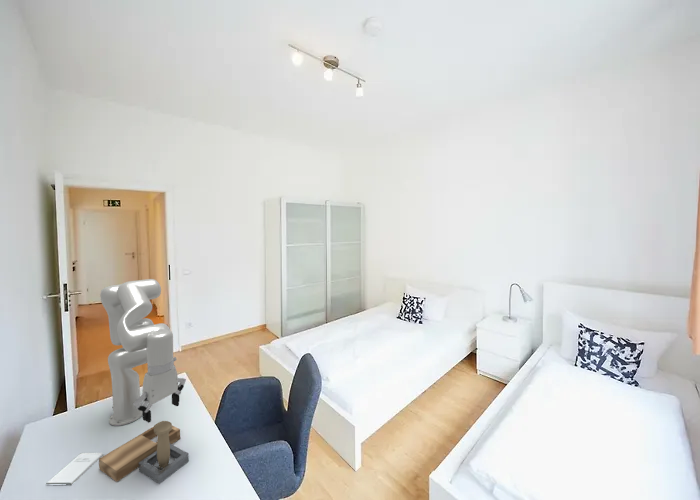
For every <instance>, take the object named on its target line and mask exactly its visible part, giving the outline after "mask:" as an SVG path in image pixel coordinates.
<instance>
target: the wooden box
mask: <svg viewBox="0 0 700 500" xmlns="http://www.w3.org/2000/svg"><path fill="white" fill-rule="evenodd" d="M156 437H158V435H156V434H155V433H154V426H152V427H150V428H148V429H147V430H145V431H144V432H142V433H140V434H139V435H137V436H135V437H133V438H132V439H130V440H128V441H127V442H125V443H123V444H122V445H120V446H118V447H117V448H115V449H113V450H112V451H109V452H108V453H106V454H104V455H103V456H102V457H101V458H99V460H98V467H99V469H98V470H100V472H102V473H104V474H105V475H106V476H108V477H109V478H111V479H112V480H114V481H115V482H116V483H118V482H119V481H121V480H122V479H123V478H125V477H127V476H128V475H130V474H131V473H132V472H134V471H136V469H139V464H138V463H139V462H141V461H142V460H144V459H145V458H147V457H148V456H150V455H151V454H153V453H154V452H155V451H157V441H156V442H155V441H153V439H155V438H156ZM180 439H181V429H180V428H178V427H177V426H174V425H172V430H171V431H170V432H169V443H170V444H172V445H174V444H175V443H176V442H178V441H179V440H180Z"/></svg>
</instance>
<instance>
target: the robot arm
mask: <svg viewBox="0 0 700 500" xmlns="http://www.w3.org/2000/svg"><path fill="white" fill-rule="evenodd" d="M161 294H162V286H161V284H160V282H158V280H157V279H154V278H146V279H140V280H138V279H137V280H130V281H129V280H128V281H125V282H122V283H121V284H119V283H118V284H114V285H109V286H106V287H105V286H104V288H102V289H101V291H100V294H99V295H100V296H99V297H100V302H101V304H102V306H103V308H104V310H105V311H106V313H107V316H108V326H109V338H110V341H111V344H112V345H113V346H122V347H120V348H118V349H116V350H115V349H114V350H113V351H112V352H110V353H109V355H108V356H107V364H108V368H109V372H110V377H111V391H112V392H111V393H112V411H113V412H112V414H111V416H110V417H109V419H108V424H109V425H111V426H118V427H121V426H124V425H129V424H131V423H133V422H135V421H137V420H138V419H140V418H141V417H142V420H143V421H145V422H146V423H148V424H149V423H151V422H152V411H151V408H152V406H153V405H154V404H156V403H158V402H159V401H161V400H163V399H165V398H168V397H169V396H171V405H173V406H175V407H179V406H180V395H181V394H182V390H183V389H184V386H185V384H186V380H187V379H186V378H184V377H182V378H181V377H178V371H177V367H176V365H175V362H176V361H177V357H176V356H174V333H173V331H171V329H170V326H168V325H167V324H166V323H164V322H163V323H162V322H161V323H156V324H155V323H154V322H153V320H152V319H150V318H146V317H147V316H148V315H149V314H150V313H151V312H152V310H153V304H152V302H151V300H154V299H157V298H159V297H160V296H161ZM145 364H147V372H146V373H144V377H143V382H142V390H141V387H140V375H139V373H138V372H137V371H135V370H134V368H136V367H138V366H143V365H145ZM141 391H142V392H141Z"/></svg>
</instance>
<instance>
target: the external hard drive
mask: <svg viewBox="0 0 700 500" xmlns="http://www.w3.org/2000/svg"><path fill="white" fill-rule="evenodd" d="M103 456H104V454H103V452H82V453H79V454H78V455H77V456H76V457H75V458H73V459H72V460H71V461H70V462H69V463H68V464H67V465H66V466H64V467H63V468H61V470H60V471H58V472H57V473H56V474H55V475H54V476H52V477H51V478H50V479H49V480H48V481H46V482H45V485H46V484H66V485H65V486H73V485H74V484H75V483H74V482H77V481H78V480H79V479H80V478H81V477H82V476H83V475H84V474H85V473H87V471H88V470H89V469H91V468H92V467H93V465H95V464H96V463H97V462H99V458H101V457H103ZM73 483H74V484H73ZM72 484H73V485H72Z"/></svg>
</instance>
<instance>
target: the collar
mask: <svg viewBox="0 0 700 500" xmlns="http://www.w3.org/2000/svg"><path fill="white" fill-rule="evenodd" d="M189 456H190V455H189V452H186V451H185V450H183V449H181V448H180V447H178V446H175V445H174V444H170V458H171V457H172V458H173V459H174V460H173V461H172V462H169V465H168V466H166V467H165V468H161V469H160V468H157V467H155V466H154V464H156V463H158V459H157V451H155V452H154V453H153V454H151V455H150V456H148V457H147V458H145V459H144V460H142V461H141V462H139V463H138V464H139V467H138V472H140V473H141V474H143V475H144V476H146V477H147V478H149V479H150V480H152V481H154V482H155V483H156V484H158V485H160V484H161V483H163V482H164V481H165V480H166V479H168V478H169V477H171V476H172V474H174V473H175V472H176V471H178V470H179V469H181V468H182V467H183V466H184V465H186V464H187V463H188V462H189V461H190V460H189V458H190V457H189Z"/></svg>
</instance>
